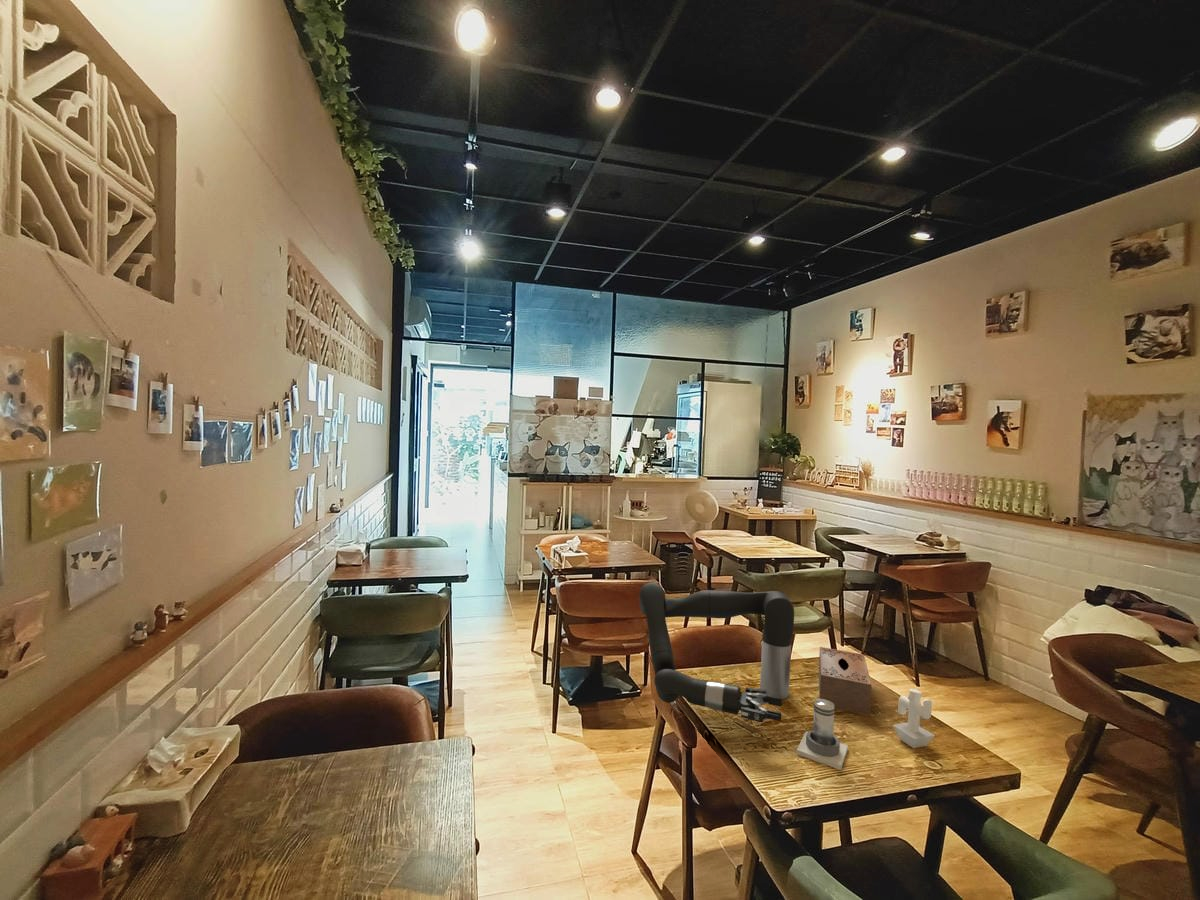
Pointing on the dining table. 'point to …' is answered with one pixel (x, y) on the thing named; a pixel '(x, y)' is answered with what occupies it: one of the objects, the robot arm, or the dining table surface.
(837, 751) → the ring stand
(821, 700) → the piston
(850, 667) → the tissue box cover
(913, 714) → the figurine
